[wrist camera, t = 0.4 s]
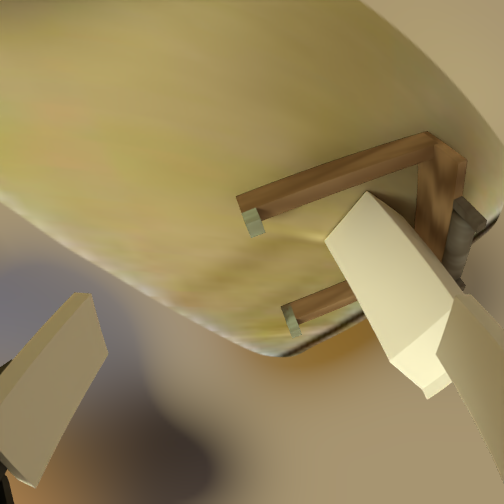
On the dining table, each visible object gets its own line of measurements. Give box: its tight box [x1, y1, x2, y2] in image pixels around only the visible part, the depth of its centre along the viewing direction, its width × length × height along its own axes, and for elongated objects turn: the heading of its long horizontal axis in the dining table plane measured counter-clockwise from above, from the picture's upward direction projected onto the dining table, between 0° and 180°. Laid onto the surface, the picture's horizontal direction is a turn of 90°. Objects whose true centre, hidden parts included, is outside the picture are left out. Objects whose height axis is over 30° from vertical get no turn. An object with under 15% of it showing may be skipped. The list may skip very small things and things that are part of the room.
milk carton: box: [325, 191, 465, 399], centre depth 26 cm, size 7×7×19 cm
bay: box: [236, 131, 487, 338], centre depth 29 cm, size 19×21×11 cm
